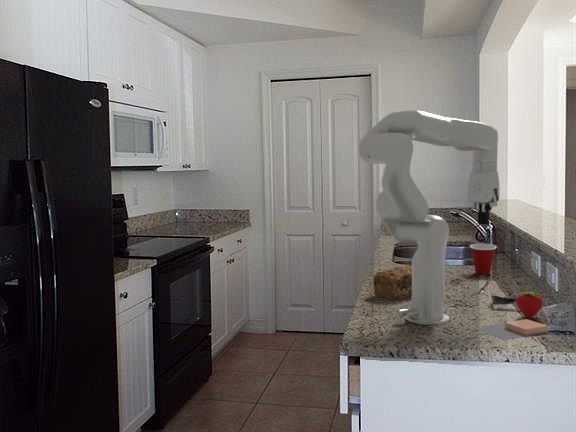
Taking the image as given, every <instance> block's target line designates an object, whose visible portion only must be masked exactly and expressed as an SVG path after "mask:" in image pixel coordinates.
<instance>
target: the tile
mask: <svg viewBox="0 0 576 432" xmlns="http://www.w3.org/2000/svg"><path fill="white" fill-rule="evenodd" d="M504 323H505V328H506V329H509V330H512V331H515V332H518V333H521V334H524V335H529V334H535V333H541V332H549V331H548V329H549V328H548V325H547V324H543V323H540V322H536V321H534V320H530V319H529V318H527V319H526V318H525V319H520V320H513V321H507V322H504Z"/></svg>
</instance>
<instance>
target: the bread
mask: <svg viewBox="0 0 576 432" xmlns="http://www.w3.org/2000/svg"><path fill="white" fill-rule="evenodd" d="M372 282H373V291H374V292H373V293H374V295H375V296H376V297H379V298H385V299H387V300H390V301H398V300H403V299H407V297H408V298H412V297H411V296H412V264H405V265H402V266H396V267H393V268H389V269H384V270H381V271H378V272H376V273H375V274H374V277H373V281H372Z"/></svg>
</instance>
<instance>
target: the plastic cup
mask: <svg viewBox="0 0 576 432" xmlns="http://www.w3.org/2000/svg"><path fill="white" fill-rule="evenodd" d="M469 248H470V250H471V253H472V261H473V265H474V272H475V274H477V275H485V276H486V275H490V273H491V272H492V266H493V263H494V262H493V261H494V256H495V252H496V250H497V245H495V244H491V243H474V244H470V245H469Z"/></svg>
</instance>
